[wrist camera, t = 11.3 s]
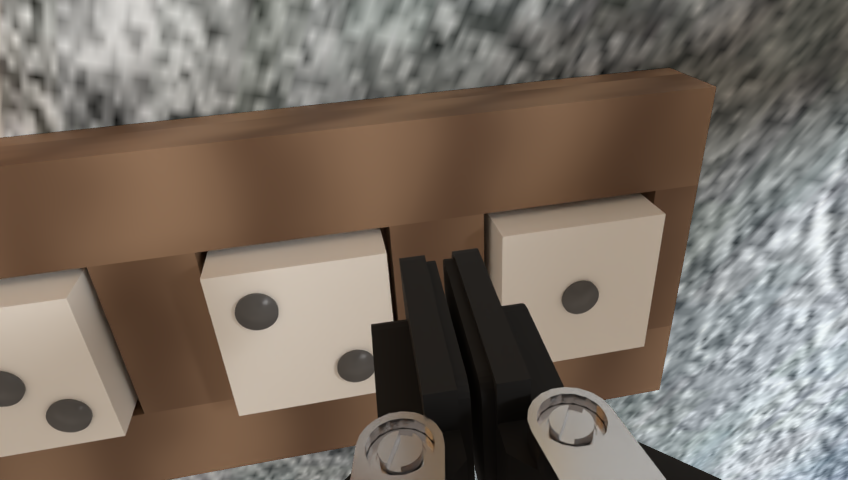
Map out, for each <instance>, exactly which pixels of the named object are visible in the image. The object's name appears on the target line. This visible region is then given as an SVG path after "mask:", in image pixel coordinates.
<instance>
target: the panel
mask: <svg viewBox="0 0 848 480" xmlns="http://www.w3.org/2000/svg"><path fill="white" fill-rule="evenodd" d="M715 92H716V86H714V85H711V84H709V83H706V82H704V81H701V80H699V79H696V78H694V77H691V76H689V75H686V74H684V73H681V72H679V71H676V70H674V69H671V68H661V69H651V70H642V71H632V72H623V73H613V74H604V75H594V76H585V77H575V78H566V79H556V80H547V81H537V82H528V83H518V84H509V85H499V86H490V87H480V88H471V89H461V90H452V91H442V92H433V93H423V94H414V95H404V96H395V97H385V98H376V99H366V100H356V101H347V102H337V103H328V104H318V105H309V106H299V107H290V108H280V109H271V110H261V111H252V112H242V113H233V114H223V115H214V116H204V117H195V118H185V119H176V120H166V121H157V122H147V123H138V124H128V125H119V126H109V127H100V128H90V129H81V130H71V131H62V132H52V133H43V134H33V135H23V136H14V137H4V138H0V279H4V278H11V277H19V276H26V275H33V274H41V273H48V272H56V271H63V270H71V269H78V268H85V267H87V270H88V272H89V275H90V277H91V280H92V282H93V285H94V287H95V290H96V292H97V295H98V298H99V300H100V303H101V305H102V308H103V310H104V313H105V315H106V318H107V320H108V323H109V325H110V328H111V330H112V333H113V335H114V338H115V340H116V343H117V346H118V348H119V351H120V353H121V356H122V358H123V361H124V363H125V366H126V368H127V371H128V373H129V376H130V378H131V381H132V383H133V386H134V388H135V391H136V394H137V396H138V400H137V403H136V406H135V409H134V411H133V414H132V417H131V420H130V423H129V426H128V429H127V432H126V435H125V436H121V437H115V438H109V439H104V440H98V441H92V442H86V443H80V444H75V445H69V446H63V447H57V448H51V449H45V450H40V451H34V452H28V453H22V454H16V455H11V456H5V457H0V480H169V479H175V478H180V477H186V476H191V475H197V474H202V473H207V472H213V471H218V470H224V469H229V468H235V467H240V466H246V465H251V464H257V463H262V462H268V461H273V460H278V459H284V458H289V457H295V456H300V455H306V454H311V453H317V452H322V451H328V450H333V449H339V448H344V447H349V446H355V445H356V443H357V441H358V438H359V435H360V434H361V433H362V431H363V430H364V429H365V428H366V426H367V425H369V424H370V423H372V422H373V421H374V420H376V419H377V418H378V415H377V401H376V393H371V394H365V395H359V396H353V397H348V398H342V399H336V400H330V401H324V402H319V403H313V404H307V405H301V406H295V407H289V408H284V409H278V410H272V411H266V412H260V413H255V414H249V415H243V416H239V414H238V410H237V407H236V403H235V400H234V396H233V393H232V389H231V386H230V382H229V379H228V375H227V372H226V368H225V365H224V362H223V358H222V355H221V351H220V348H219V344H218V341H217V337H216V334H215V330H214V327H213V323H212V320H211V316H210V313H209V309H208V306H207V303H206V299H205V296H204V292H203V289H202V285H201V282H200V277H201V274H202V270H203V267H204V263H205V259H206V256H207V252H208V251H212V250H219V249H227V248H234V247H241V246H249V245H256V244H264V243H271V242H279V241H286V240H293V239H301V238H308V237H316V236H323V235H331V234H338V233H345V232H353V231H360V230H368V229H375V228H380V230H381V234H382V238H383V242H384V246H385V249H386V253H387V263H388V273H389V283H390V293H391V303H392V313H393V321H398V320H405V319H406V315H405V307H404V298H403V290H402V281H401V272H400V264H399V258H406V257H413V256H421V255H425V259H426V262H427V261H436V264H437V268H438V272H439V275H440V279H441V283H442V286H443V290H444V294H445V287H444V273H443V259H450V258H452V257H451V256H452V251H458V250H466V249H474V248H478V250H479V252H480V254H481V257H482V259H483V261H484V214H486V213H494V212H501V211H509V210H516V209H524V208H531V207H538V206H546V205H553V204H561V203H568V202H576V201H583V200H590V199H598V198H605V197H613V196H620V195H628V194H635V193H640V194H642V195H643V196H644V197H645V198H647V199H648V200H649V201H650V202H652V203H653V204H654V205H655V206H656V207H658V208H659V209H660V210H661V211H663V212H664V213H665V214H666V216H665V222H664V228H663V234H662V240H661V246H660V252H659V258H658V265H657V271H656V277H655V283H654V289H653V295H652V301H651V307H650V313H649V320H648V326H647V332H646V338H645V344H644V347H638V348H632V349H626V350H620V351H615V352H609V353H603V354H597V355H591V356H586V357H580V358H574V359H568V360H562V361H556V362H553V364H554V366H555V368H556V370H557V372H558V375H559V377H560V379H561V381H562V383H563V385H564V387H570V388H579V389H582V390H586V391H589V392H592V393H593V394H595V395H597V396H598V397H600V398H602V399H603V400H606V399H612V398H617V397H623V396H628V395H633V394H639V393H644V392H650V391H655V390H659V389H660V383H661V378H662V373H663V367H664V362H665V357H666V352H667V346H668V341H669V336H670V330H671V325H672V320H673V314H674V309H675V304H676V298H677V293H678V288H679V283H680V277H681V272H682V267H683V261H684V256H685V251H686V245H687V240H688V235H689V229H690V224H691V219H692V214H693V208H694V203H695V198H696V192H697V187H698V182H699V176H700V171H701V166H702V161H703V155H704V150H705V145H706V139H707V134H708V129H709V123H710V118H711V113H712V107H713V102H714V97H715Z"/></svg>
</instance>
